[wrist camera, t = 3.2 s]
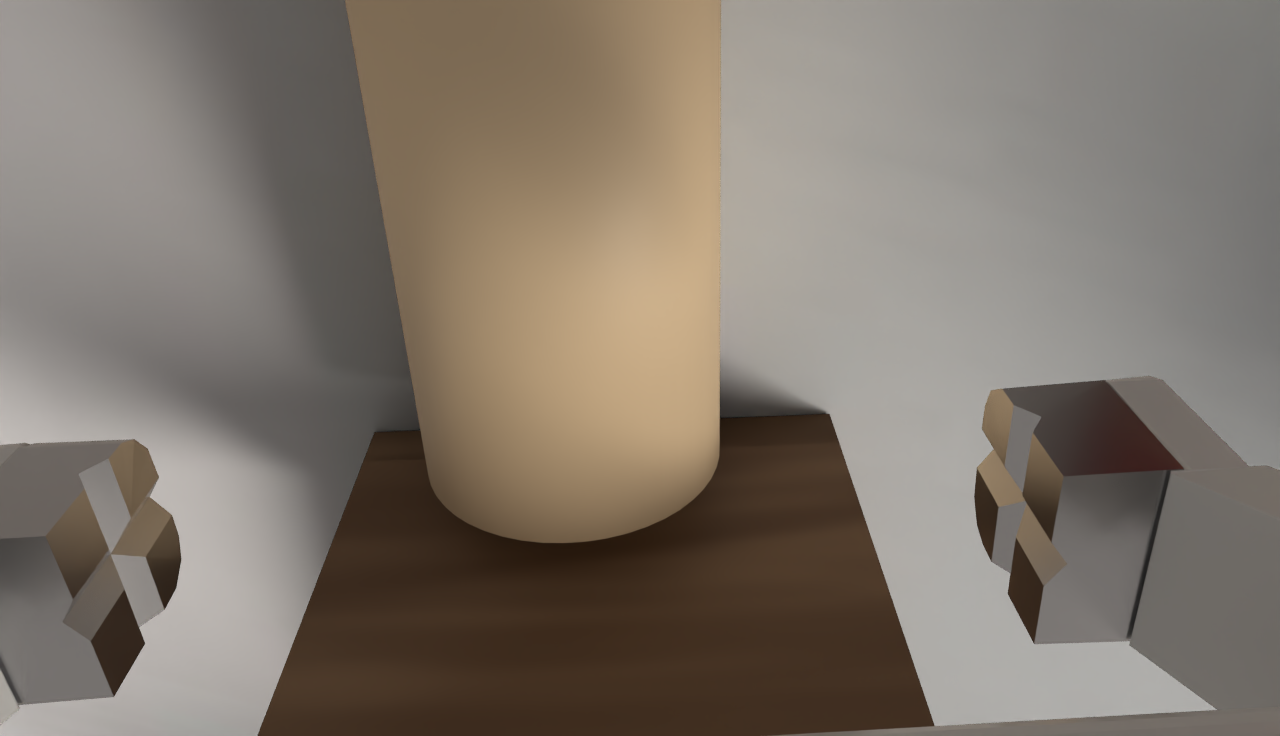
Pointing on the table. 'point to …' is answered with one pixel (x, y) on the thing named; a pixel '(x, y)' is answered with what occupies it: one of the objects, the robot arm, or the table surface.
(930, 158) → the table surface
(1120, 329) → the table surface
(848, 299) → the table surface
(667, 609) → the cradle
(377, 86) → the cylinder
